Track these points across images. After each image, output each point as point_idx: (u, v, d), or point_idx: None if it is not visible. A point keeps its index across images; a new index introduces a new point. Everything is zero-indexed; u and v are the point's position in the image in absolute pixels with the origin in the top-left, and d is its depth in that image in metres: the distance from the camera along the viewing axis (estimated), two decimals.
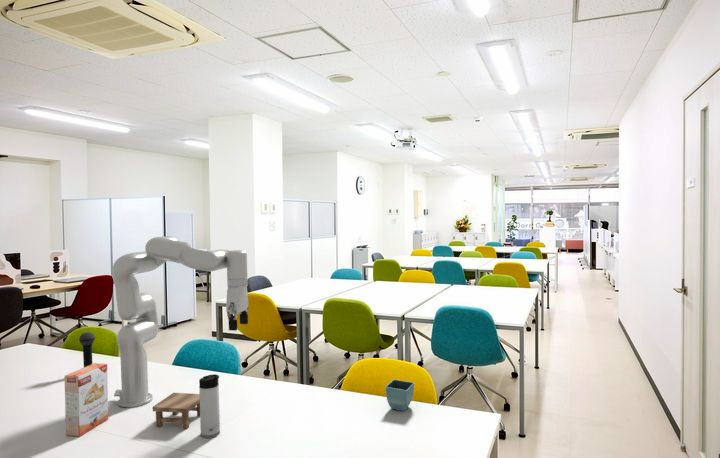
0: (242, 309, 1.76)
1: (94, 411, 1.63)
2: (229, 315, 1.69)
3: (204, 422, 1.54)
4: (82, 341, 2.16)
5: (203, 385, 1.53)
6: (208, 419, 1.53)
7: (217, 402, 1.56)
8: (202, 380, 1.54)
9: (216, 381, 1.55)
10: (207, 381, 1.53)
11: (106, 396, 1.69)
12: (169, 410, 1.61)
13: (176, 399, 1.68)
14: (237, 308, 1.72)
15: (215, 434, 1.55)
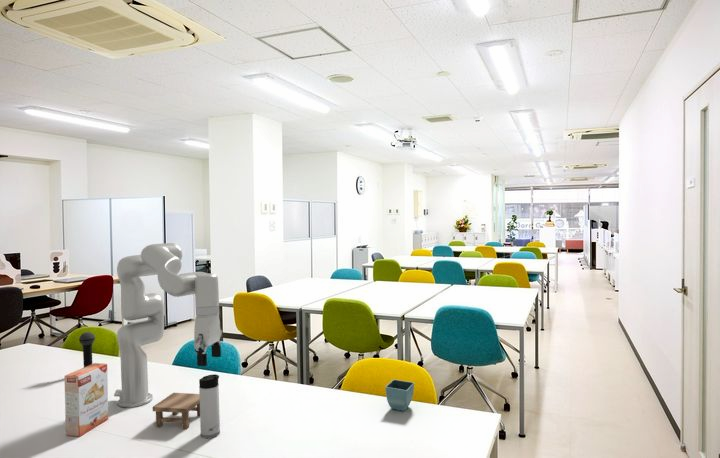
0: (213, 341, 1.54)
1: (94, 411, 1.63)
2: (197, 349, 1.48)
3: (204, 422, 1.54)
4: (82, 341, 2.16)
5: (203, 385, 1.53)
6: (208, 419, 1.53)
7: (217, 402, 1.56)
8: (202, 380, 1.54)
9: (216, 381, 1.55)
10: (207, 381, 1.53)
11: (106, 396, 1.69)
12: (169, 410, 1.61)
13: (176, 399, 1.68)
14: (206, 340, 1.50)
15: (215, 434, 1.55)
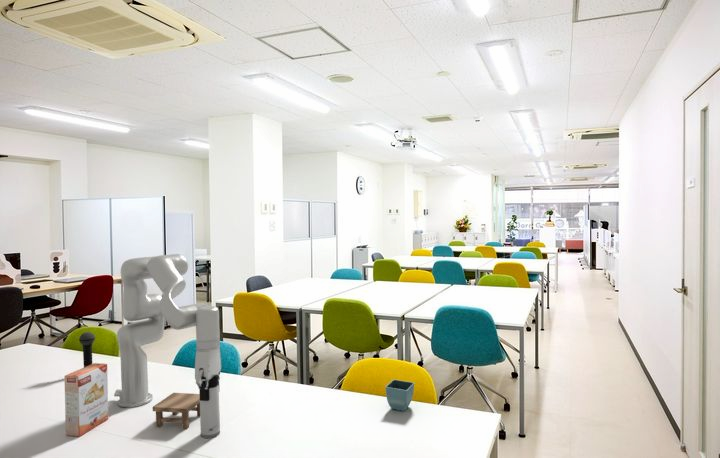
0: (213, 374, 1.55)
1: (94, 411, 1.63)
2: (199, 385, 1.50)
3: (204, 422, 1.54)
4: (82, 341, 2.16)
5: None
6: (208, 419, 1.53)
7: (217, 402, 1.56)
8: None
9: (216, 381, 1.55)
10: None
11: (106, 396, 1.69)
12: (169, 410, 1.61)
13: (176, 399, 1.68)
14: (207, 375, 1.51)
15: (215, 434, 1.55)
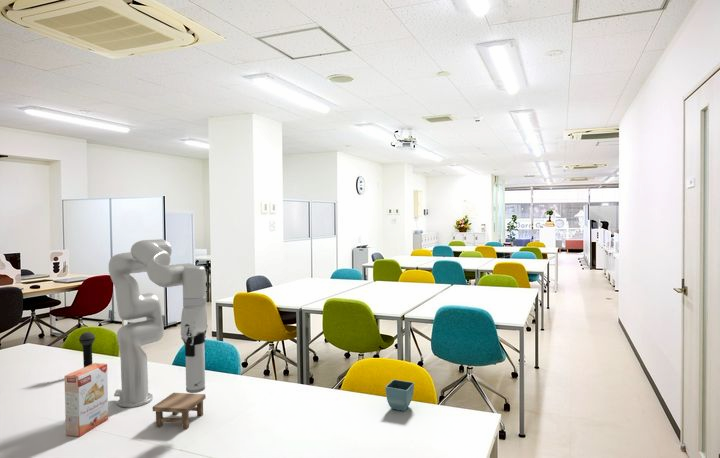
0: (199, 331, 1.59)
1: (94, 411, 1.63)
2: (185, 341, 1.54)
3: (190, 377, 1.58)
4: (82, 341, 2.16)
5: None
6: (193, 375, 1.57)
7: (202, 359, 1.60)
8: None
9: (202, 338, 1.59)
10: None
11: (106, 396, 1.69)
12: (169, 410, 1.61)
13: (176, 399, 1.68)
14: (192, 331, 1.55)
15: (200, 389, 1.59)
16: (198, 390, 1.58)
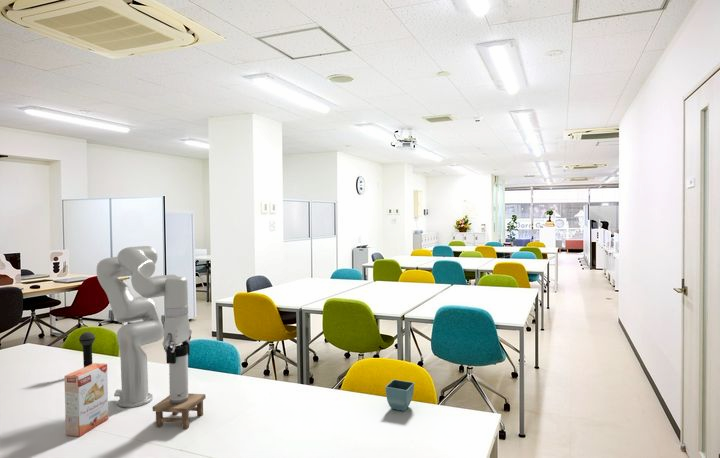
0: (181, 340, 1.65)
1: (94, 411, 1.63)
2: (166, 348, 1.59)
3: (173, 388, 1.64)
4: (82, 341, 2.16)
5: None
6: (176, 386, 1.64)
7: (186, 370, 1.66)
8: None
9: (185, 350, 1.66)
10: (176, 350, 1.63)
11: (106, 396, 1.68)
12: (169, 410, 1.61)
13: None
14: (175, 339, 1.61)
15: (183, 400, 1.65)
16: (181, 400, 1.65)
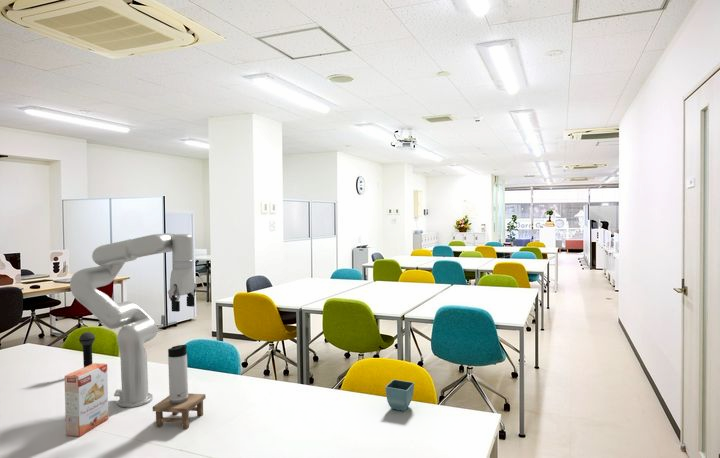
0: (186, 291, 1.80)
1: (94, 411, 1.63)
2: (170, 296, 1.74)
3: (173, 388, 1.64)
4: (82, 341, 2.16)
5: (171, 354, 1.64)
6: (176, 386, 1.64)
7: (185, 370, 1.66)
8: (171, 349, 1.65)
9: (184, 350, 1.66)
10: (175, 350, 1.63)
11: (106, 396, 1.69)
12: (169, 410, 1.61)
13: None
14: (179, 290, 1.76)
15: (183, 400, 1.65)
16: (181, 400, 1.65)
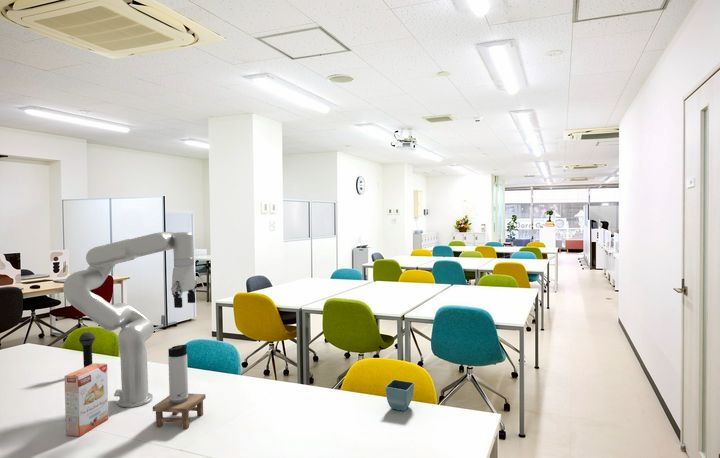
0: (188, 288, 1.85)
1: (94, 411, 1.63)
2: (174, 293, 1.78)
3: (173, 388, 1.64)
4: (82, 341, 2.16)
5: (172, 354, 1.64)
6: (176, 386, 1.64)
7: (185, 370, 1.66)
8: (171, 349, 1.65)
9: (184, 350, 1.66)
10: (175, 350, 1.64)
11: (106, 396, 1.69)
12: (169, 410, 1.61)
13: None
14: (182, 286, 1.81)
15: (183, 400, 1.65)
16: (181, 400, 1.65)
